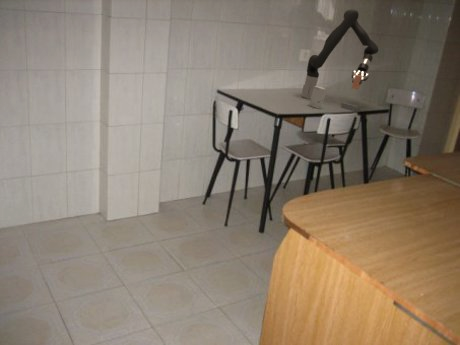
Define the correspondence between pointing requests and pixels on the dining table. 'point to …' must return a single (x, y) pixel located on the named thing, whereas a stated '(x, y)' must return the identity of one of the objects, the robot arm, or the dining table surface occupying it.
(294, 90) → the dining table surface
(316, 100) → the skincare box
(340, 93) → the dining table surface
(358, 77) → the brick pillar
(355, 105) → the charcoal block
